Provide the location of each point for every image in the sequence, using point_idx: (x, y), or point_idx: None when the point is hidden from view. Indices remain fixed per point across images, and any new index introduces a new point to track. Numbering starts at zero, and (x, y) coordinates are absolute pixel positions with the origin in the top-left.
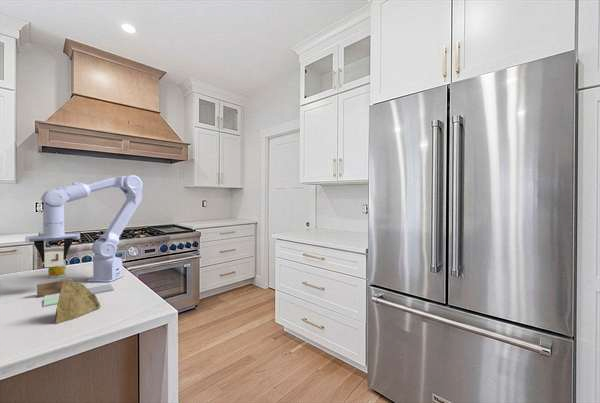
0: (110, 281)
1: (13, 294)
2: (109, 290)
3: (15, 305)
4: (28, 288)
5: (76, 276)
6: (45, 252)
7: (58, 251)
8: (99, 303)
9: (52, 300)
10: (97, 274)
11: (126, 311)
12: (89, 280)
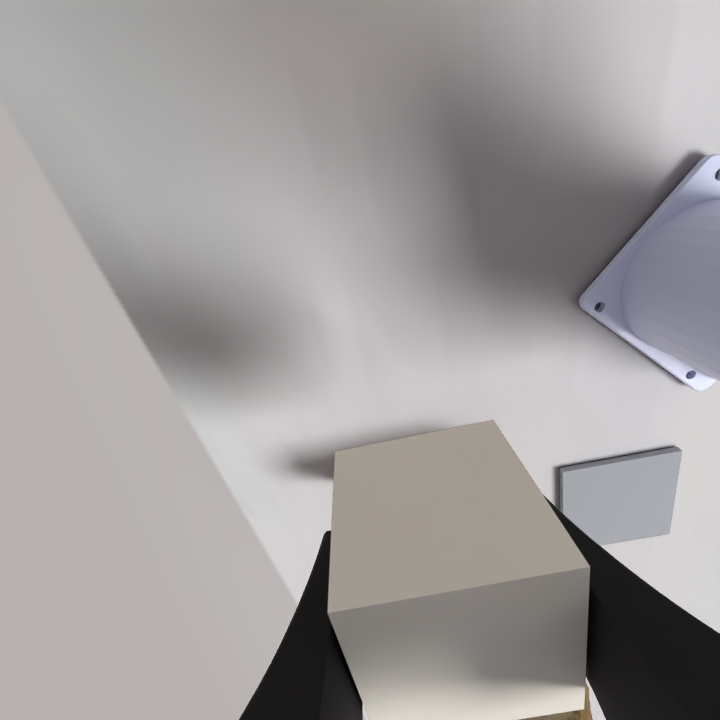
0: (698, 388)
1: (204, 385)
2: (648, 535)
3: (297, 548)
4: (233, 288)
5: (506, 43)
6: (372, 702)
7: (524, 689)
8: (586, 688)
9: None
10: (674, 357)
11: None
12: (593, 316)
